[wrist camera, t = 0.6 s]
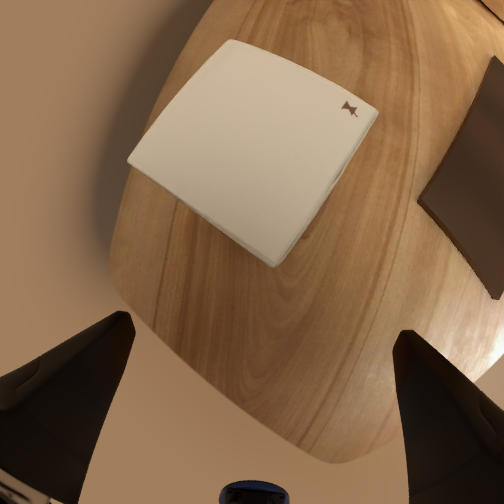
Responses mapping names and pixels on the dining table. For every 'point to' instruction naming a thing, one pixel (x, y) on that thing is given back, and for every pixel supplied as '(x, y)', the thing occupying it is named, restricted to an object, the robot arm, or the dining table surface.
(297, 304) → the dining table surface
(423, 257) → the dining table surface
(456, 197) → the board
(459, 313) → the dining table surface
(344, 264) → the dining table surface
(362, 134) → the white packaging box
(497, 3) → the bowl
